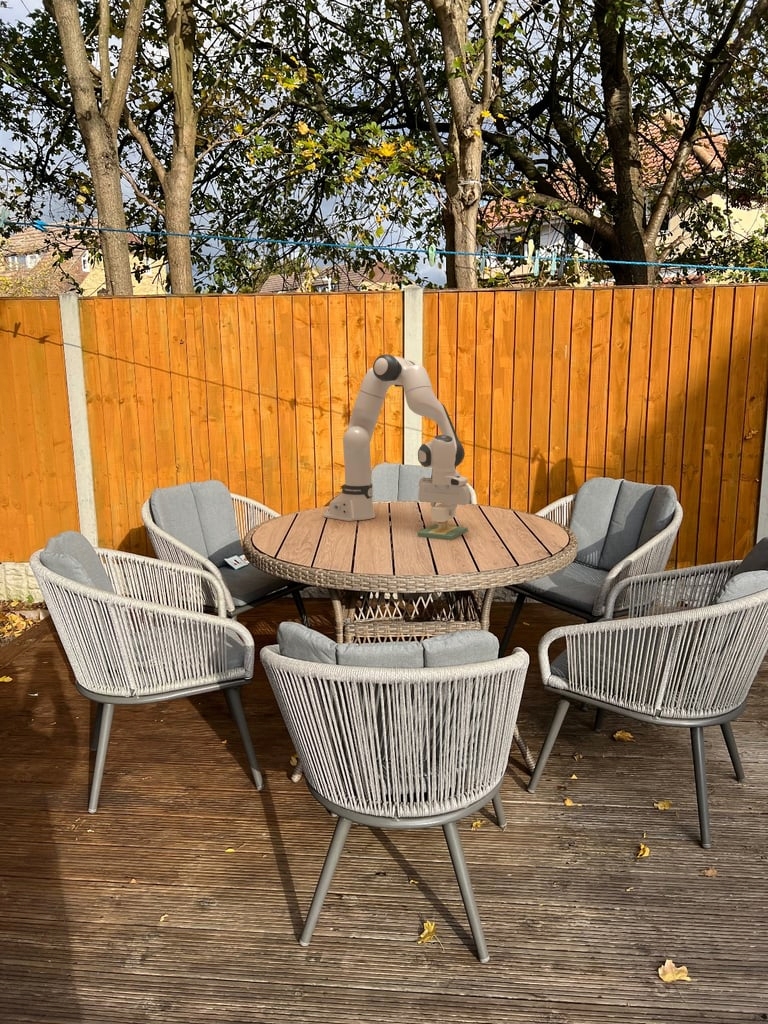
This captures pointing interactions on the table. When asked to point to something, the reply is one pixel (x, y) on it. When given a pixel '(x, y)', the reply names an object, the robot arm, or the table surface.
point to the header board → (442, 531)
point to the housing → (442, 512)
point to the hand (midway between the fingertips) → (443, 514)
